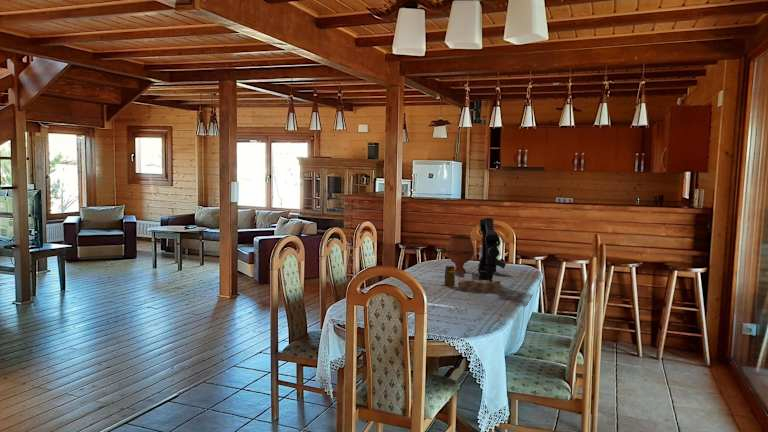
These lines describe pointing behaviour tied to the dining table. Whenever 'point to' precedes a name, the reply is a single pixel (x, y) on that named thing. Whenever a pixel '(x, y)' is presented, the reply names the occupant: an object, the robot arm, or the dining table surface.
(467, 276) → the peg
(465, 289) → the housing
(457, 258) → the goblet
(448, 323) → the dining table surface
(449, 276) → the condiment
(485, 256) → the robot arm
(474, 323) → the dining table surface
